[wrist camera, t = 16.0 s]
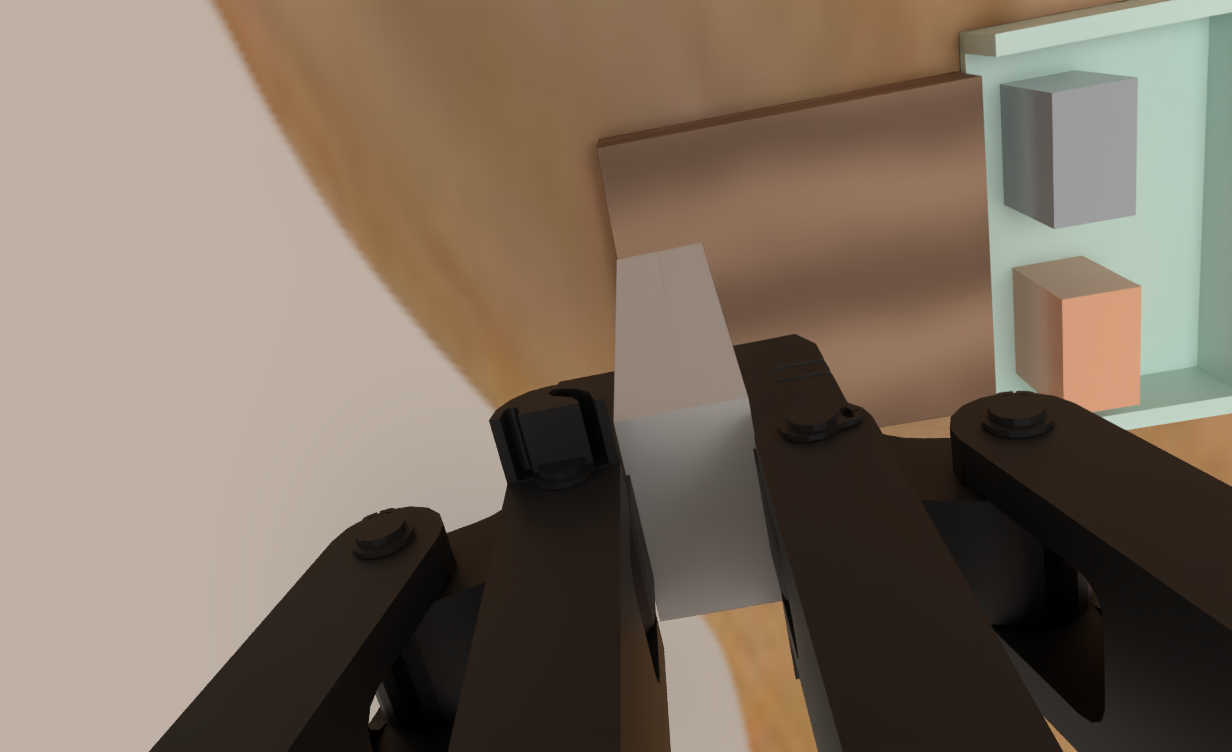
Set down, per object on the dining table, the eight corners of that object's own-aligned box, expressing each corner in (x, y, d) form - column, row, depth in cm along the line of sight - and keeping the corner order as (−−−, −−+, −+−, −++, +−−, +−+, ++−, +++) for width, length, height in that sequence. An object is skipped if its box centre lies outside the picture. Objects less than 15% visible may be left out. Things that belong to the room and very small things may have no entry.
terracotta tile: (1062, 299, 36) (1141, 286, 36) (1012, 267, 41) (1082, 255, 41) (1063, 416, 38) (1139, 404, 38) (1015, 373, 43) (1083, 362, 43)
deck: (598, 139, 40) (596, 148, 37) (956, 71, 39) (981, 75, 36) (654, 435, 45) (656, 463, 42) (973, 383, 44) (997, 408, 41)
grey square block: (1052, 93, 34) (1137, 77, 33) (999, 83, 38) (1074, 70, 38) (1054, 229, 35) (1135, 215, 35) (1003, 204, 40) (1075, 192, 40)
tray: (959, 32, 38) (995, 34, 34) (1222, -18, 37) (1288, -23, 34) (978, 411, 44) (1011, 448, 40) (1207, 374, 43) (1262, 408, 40)
